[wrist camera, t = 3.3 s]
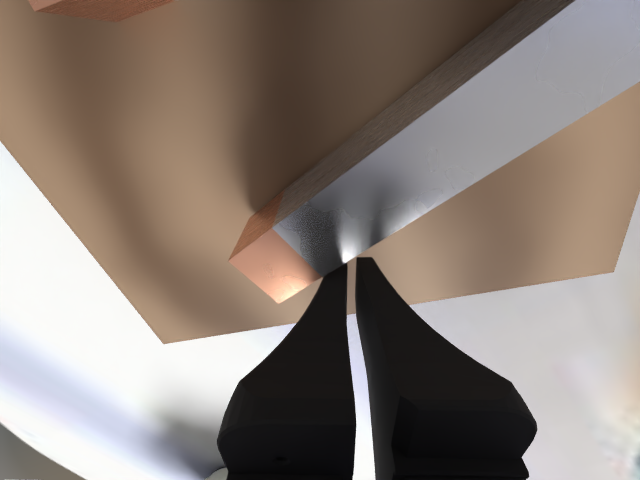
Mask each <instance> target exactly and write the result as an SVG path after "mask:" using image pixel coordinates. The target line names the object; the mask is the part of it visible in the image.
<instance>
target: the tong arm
mask: <svg viewBox="0 0 640 480" xmlns="http://www.w3.org/2000/svg"><path fill="white" fill-rule="evenodd" d="M638 82H640V0H522V1H520V2H519V3H518V4H517V5H515V6H514V7H513V8H512V9H510V10H509V11H508V12H507V13H505V14H504V15H503V16H502V17H500V18H499V19H498V20H497V21H495V22H494V23H493V24H492V25H490V26H489V27H488V28H487V29H485V30H484V31H483V32H482V33H480V34H479V35H478V36H477V37H475V38H474V39H473V40H472V41H470V42H469V43H468V44H467V45H465V46H464V47H463V48H462V49H460V50H459V51H458V52H457V53H455V54H454V55H453V56H452V57H450V58H449V59H448V60H446V61H445V62H444V63H443V64H441V65H440V66H439V67H438V68H436V69H435V70H434V71H433V72H431V73H430V74H429V75H428V76H426V77H425V78H424V79H423V80H421V81H420V82H419V83H418V84H416V85H415V86H414V87H413V88H411V89H410V90H409V91H408V92H406V93H405V94H404V95H403V96H401V97H400V98H399V99H398V100H396V101H395V102H394V103H393V104H391V105H390V106H389V107H388V108H386V109H385V110H384V111H383V112H381V113H380V114H379V115H378V116H376V117H375V118H374V119H373V120H371V121H370V122H369V123H368V124H366V125H365V126H364V127H363V128H361V129H360V130H359V131H357V132H356V133H355V134H354V135H352V136H351V137H350V138H349V139H347V140H346V141H345V142H344V143H342V144H341V145H340V146H339V147H337V148H336V149H335V150H334V151H332V152H331V153H330V154H329V155H327V156H326V157H325V158H324V159H322V160H321V161H320V162H319V163H317V164H316V165H315V166H314V167H312V168H311V169H310V170H309V171H307V172H306V173H305V174H304V175H302V176H301V177H300V178H299V179H297V180H296V181H295V182H294V183H292V184H291V185H290V186H289V187H287V188H286V189H285V190H284V191H282V192H281V193H280V194H279V195H277V196H276V197H275V198H274V199H272V200H271V201H270V202H268V203H267V204H266V205H265V206H263V207H262V208H261V209H260V210H258V211H257V212H256V213H255V214H253V215H252V216H251V217H250V218H249V220H248V222H247V224H246V226H245V228H244V230H243V232H242V234H241V236H240V238H239V240H238V242H237V244H236V246H235V248H234V250H233V252H232V254H231V256H230V258H229V260H228V261H229V262H230V263H231V264H232V265H233V266H234V267H236V268H237V269H238V270H239V271H240V272H242V273H243V274H244V275H245V276H246V277H247V278H249V279H250V280H251V281H252V282H253V283H255V284H256V285H257V286H258V287H259V288H260V289H262V290H263V291H264V292H265V293H266V294H268V295H269V296H270V297H271V298H272V299H274V300H275V301H276V302H277V303H278V304H279V303H281V302H283V301H284V300H286V299H287V298H289V297H291V296H292V295H294V294H296V293H297V292H299V291H300V290H302V289H304V288H305V287H307V286H309V285H310V284H312V283H313V282H315V281H317V280H318V279H320V278H322V277H323V276H325V275H326V274H328V273H330V272H331V271H333V270H335V269H336V268H338V267H339V266H341V265H343V264H344V263H346V262H348V261H349V260H351V259H352V258H354V257H356V256H357V255H359V254H361V253H362V252H364V251H365V250H367V249H369V248H370V247H372V246H373V245H375V244H377V243H378V242H380V241H382V240H383V239H385V238H386V237H388V236H390V235H391V234H393V233H395V232H396V231H398V230H399V229H401V228H403V227H404V226H406V225H408V224H409V223H411V222H412V221H414V220H416V219H417V218H419V217H421V216H422V215H424V214H425V213H427V212H429V211H430V210H432V209H434V208H435V207H437V206H438V205H440V204H442V203H443V202H445V201H447V200H448V199H450V198H451V197H453V196H455V195H456V194H458V193H460V192H461V191H463V190H464V189H466V188H468V187H469V186H471V185H473V184H474V183H476V182H477V181H479V180H481V179H482V178H484V177H485V176H487V175H489V174H490V173H492V172H494V171H495V170H497V169H498V168H500V167H502V166H503V165H505V164H507V163H508V162H510V161H511V160H513V159H515V158H516V157H518V156H520V155H521V154H523V153H524V152H526V151H528V150H529V149H531V148H533V147H534V146H536V145H537V144H539V143H541V142H542V141H544V140H546V139H547V138H549V137H550V136H552V135H554V134H555V133H557V132H559V131H560V130H562V129H563V128H565V127H567V126H568V125H570V124H572V123H573V122H575V121H576V120H578V119H580V118H581V117H583V116H584V115H586V114H588V113H589V112H591V111H593V110H594V109H596V108H597V107H599V106H601V105H602V104H604V103H606V102H607V101H609V100H610V99H612V98H614V97H615V96H617V95H619V94H620V93H622V92H623V91H625V90H627V89H628V88H630V87H632V86H633V85H635V84H636V83H638Z"/></svg>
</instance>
